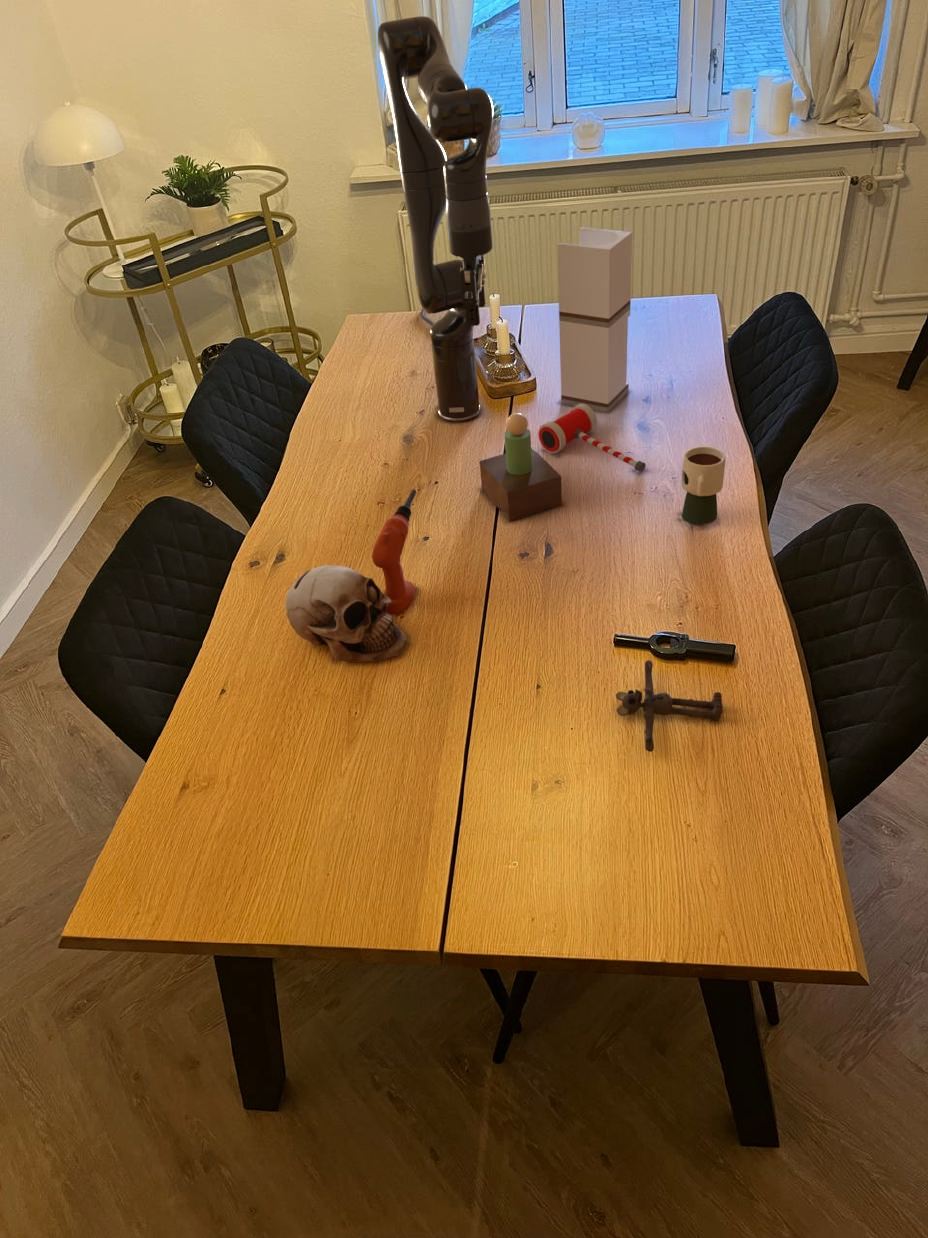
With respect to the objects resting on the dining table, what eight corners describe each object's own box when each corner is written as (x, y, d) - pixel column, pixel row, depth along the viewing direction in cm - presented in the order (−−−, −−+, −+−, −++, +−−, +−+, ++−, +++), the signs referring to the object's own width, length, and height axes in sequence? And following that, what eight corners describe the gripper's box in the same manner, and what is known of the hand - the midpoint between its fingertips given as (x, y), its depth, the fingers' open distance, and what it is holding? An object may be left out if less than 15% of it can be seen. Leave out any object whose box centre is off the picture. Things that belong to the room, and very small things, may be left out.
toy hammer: (661, 459, 185) (662, 431, 181) (623, 484, 179) (624, 455, 175) (574, 426, 198) (574, 399, 194) (537, 448, 193) (536, 420, 189)
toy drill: (437, 543, 167) (425, 478, 156) (405, 618, 155) (389, 553, 144) (412, 541, 168) (398, 475, 157) (378, 615, 156) (360, 550, 145)
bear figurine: (727, 747, 122) (617, 734, 124) (721, 768, 125) (613, 756, 126) (718, 655, 136) (619, 645, 137) (713, 676, 138) (616, 666, 140)
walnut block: (482, 489, 182) (479, 460, 178) (532, 474, 185) (530, 445, 181) (509, 521, 173) (507, 492, 169) (561, 505, 175) (561, 475, 171)
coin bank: (411, 653, 146) (390, 587, 138) (306, 686, 145) (278, 622, 137) (394, 598, 159) (374, 534, 150) (298, 628, 158) (272, 566, 149)
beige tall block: (628, 391, 208) (632, 231, 186) (607, 412, 202) (609, 249, 179) (582, 383, 214) (581, 226, 191) (561, 403, 207) (557, 243, 185)
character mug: (682, 500, 173) (686, 439, 165) (721, 503, 171) (727, 441, 163) (676, 533, 165) (680, 470, 157) (717, 537, 163) (723, 473, 155)
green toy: (502, 466, 176) (498, 412, 169) (525, 459, 177) (522, 405, 170) (513, 477, 172) (509, 423, 165) (536, 470, 173) (533, 416, 166)
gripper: (486, 235, 151) (493, 330, 162) (495, 208, 162) (501, 299, 172) (441, 237, 152) (450, 332, 163) (453, 210, 163) (461, 301, 174)
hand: (476, 315), depth 168 cm, fingers open, 8 cm apart
